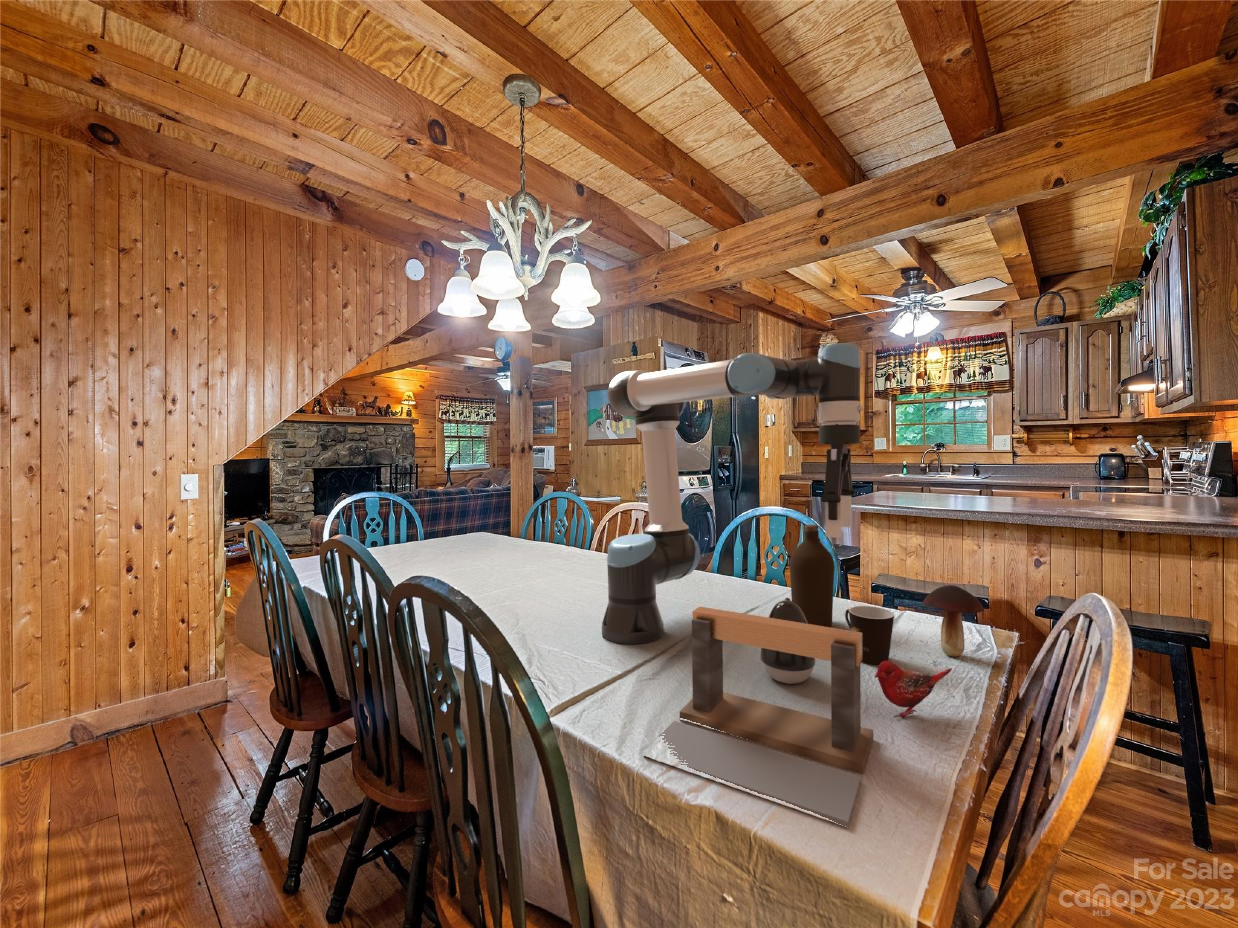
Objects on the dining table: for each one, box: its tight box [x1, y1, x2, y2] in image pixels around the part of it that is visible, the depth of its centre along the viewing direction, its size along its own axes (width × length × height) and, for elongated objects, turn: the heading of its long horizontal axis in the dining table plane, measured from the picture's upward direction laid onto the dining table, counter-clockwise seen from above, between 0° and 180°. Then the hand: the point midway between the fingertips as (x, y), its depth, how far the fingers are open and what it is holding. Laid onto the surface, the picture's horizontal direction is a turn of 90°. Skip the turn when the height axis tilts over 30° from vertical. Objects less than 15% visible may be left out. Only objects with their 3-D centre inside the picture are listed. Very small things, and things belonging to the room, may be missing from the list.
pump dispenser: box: [759, 597, 817, 685], centre depth 102 cm, size 10×10×15 cm
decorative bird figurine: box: [874, 660, 953, 718], centre depth 88 cm, size 3×18×10 cm, turn 111°
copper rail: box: [692, 606, 862, 667], centre depth 84 cm, size 26×3×4 cm, turn 57°
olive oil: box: [789, 523, 836, 628], centre depth 132 cm, size 11×11×25 cm
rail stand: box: [679, 618, 874, 775], centre depth 84 cm, size 28×10×16 cm, turn 57°
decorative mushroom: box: [922, 584, 985, 658], centre depth 111 cm, size 11×11×15 cm
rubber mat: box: [658, 720, 862, 828], centre depth 74 cm, size 28×10×1 cm, turn 57°
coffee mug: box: [844, 605, 895, 667], centre depth 112 cm, size 12×9×10 cm
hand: (839, 531), depth 104 cm, fingers open, 13 cm apart
